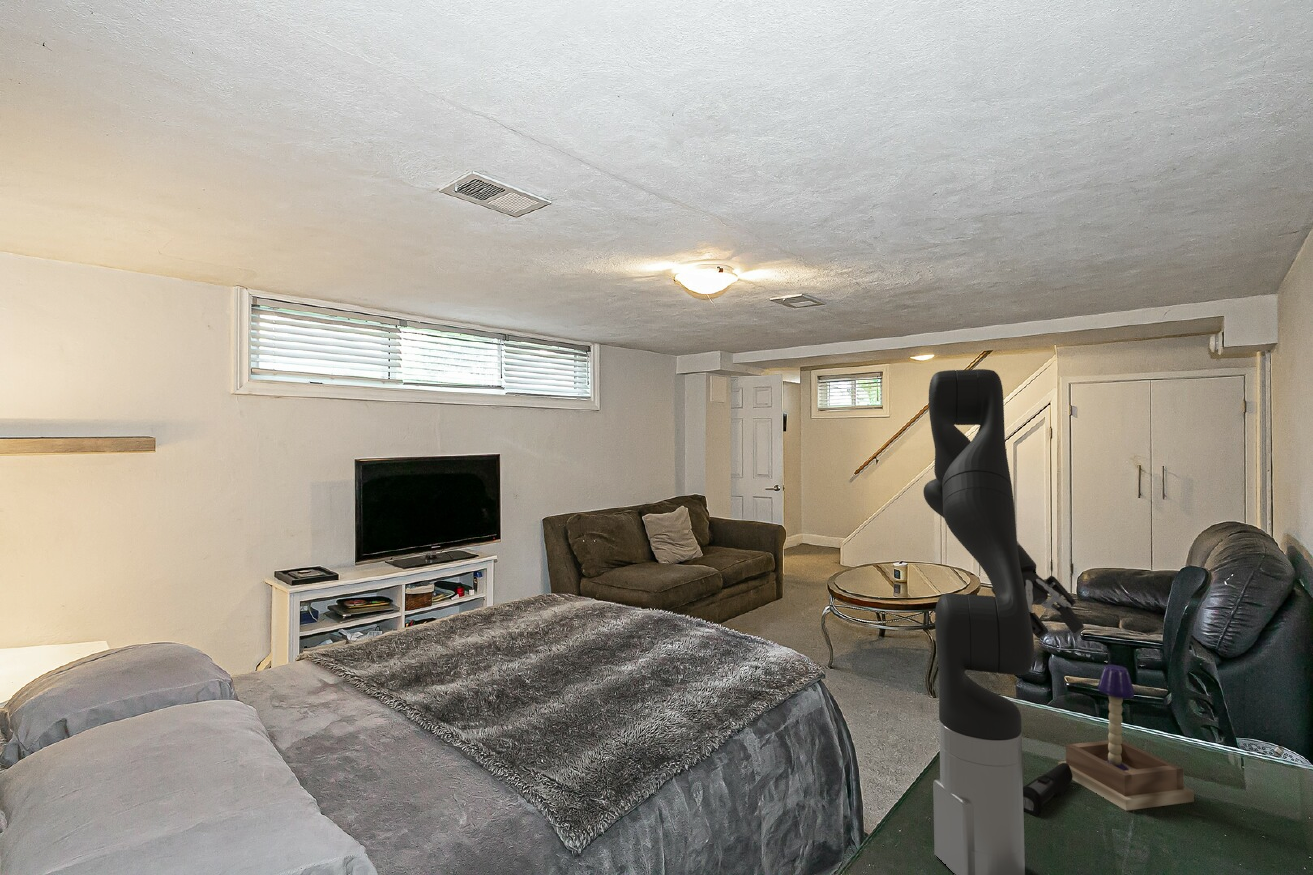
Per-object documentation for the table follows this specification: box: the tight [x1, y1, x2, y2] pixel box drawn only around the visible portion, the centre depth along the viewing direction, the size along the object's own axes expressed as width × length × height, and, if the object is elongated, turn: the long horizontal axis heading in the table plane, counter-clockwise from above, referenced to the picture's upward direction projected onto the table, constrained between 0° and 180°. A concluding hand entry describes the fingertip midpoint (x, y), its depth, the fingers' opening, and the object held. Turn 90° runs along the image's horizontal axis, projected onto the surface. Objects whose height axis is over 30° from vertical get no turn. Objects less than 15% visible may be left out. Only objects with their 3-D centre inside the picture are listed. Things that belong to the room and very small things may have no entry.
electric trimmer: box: [1023, 763, 1073, 817], centre depth 97 cm, size 4×16×3 cm, turn 128°
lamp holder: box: [1057, 739, 1195, 811], centre depth 99 cm, size 12×12×4 cm
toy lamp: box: [1097, 664, 1135, 771], centre depth 99 cm, size 5×5×17 cm
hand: (1061, 633), depth 109 cm, fingers open, 8 cm apart
